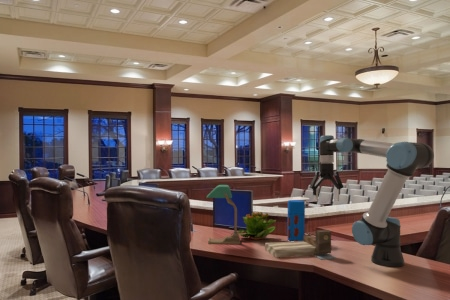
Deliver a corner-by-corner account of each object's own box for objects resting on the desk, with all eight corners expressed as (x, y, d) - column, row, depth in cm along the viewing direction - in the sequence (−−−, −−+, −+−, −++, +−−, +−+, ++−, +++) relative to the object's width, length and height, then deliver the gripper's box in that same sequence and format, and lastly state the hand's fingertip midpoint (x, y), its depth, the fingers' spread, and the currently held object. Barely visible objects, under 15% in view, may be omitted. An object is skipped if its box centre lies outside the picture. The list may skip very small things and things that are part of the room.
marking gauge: (332, 253, 187) (332, 231, 188) (320, 254, 186) (320, 232, 186) (312, 244, 208) (312, 224, 208) (301, 244, 206) (301, 224, 206)
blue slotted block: (304, 242, 220) (304, 202, 220) (287, 241, 222) (287, 201, 223) (304, 238, 230) (304, 200, 231) (287, 237, 233) (287, 199, 233)
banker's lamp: (240, 245, 211) (240, 186, 211) (205, 245, 211) (206, 186, 212) (239, 239, 226) (240, 184, 227) (207, 239, 227) (207, 184, 228)
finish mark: (336, 258, 185) (336, 257, 185) (320, 259, 183) (320, 258, 183) (328, 254, 192) (328, 253, 192) (313, 255, 190) (313, 254, 190)
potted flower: (245, 232, 247) (246, 207, 248) (279, 235, 239) (279, 209, 240) (234, 240, 224) (234, 212, 224) (271, 243, 216) (271, 215, 216)
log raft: (327, 254, 193) (327, 247, 193) (276, 257, 185) (276, 250, 186) (313, 247, 208) (313, 240, 208) (265, 250, 201) (265, 242, 201)
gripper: (341, 163, 206) (341, 199, 206) (303, 162, 199) (303, 200, 198) (349, 163, 199) (349, 201, 198) (310, 162, 192) (310, 202, 191)
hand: (326, 200), depth 198 cm, fingers open, 13 cm apart
